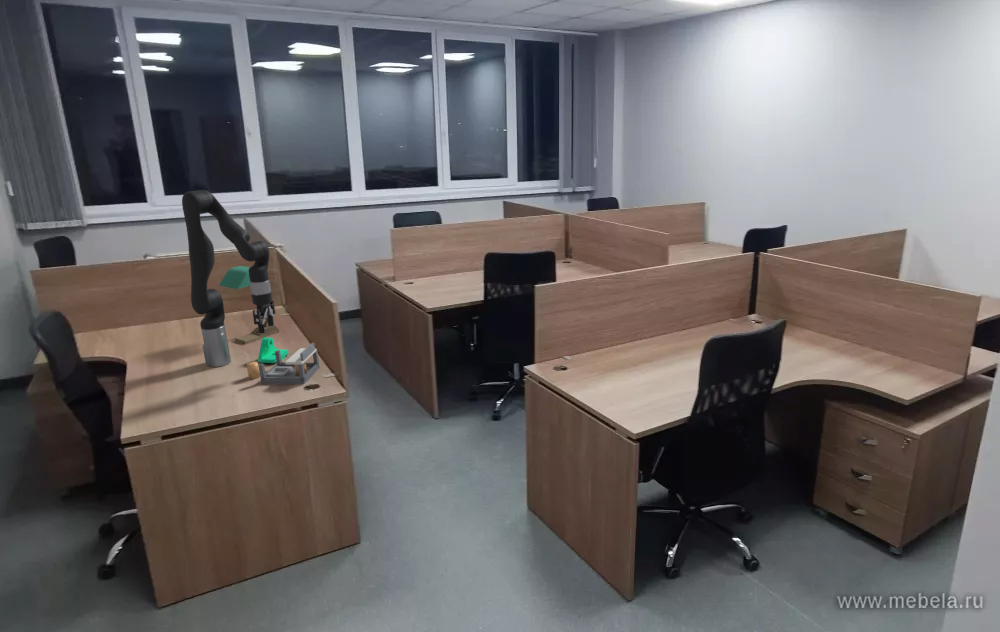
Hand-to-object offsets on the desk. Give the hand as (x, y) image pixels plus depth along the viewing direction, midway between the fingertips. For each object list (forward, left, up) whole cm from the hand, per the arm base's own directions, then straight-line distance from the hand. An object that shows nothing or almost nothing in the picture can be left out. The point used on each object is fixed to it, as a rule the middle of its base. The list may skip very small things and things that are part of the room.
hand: (266, 329), depth 239 cm
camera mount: (-6, +14, -20) cm, 25 cm away
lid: (+14, -3, -11) cm, 18 cm away
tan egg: (-6, -5, -19) cm, 21 cm away
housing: (+9, -3, -19) cm, 21 cm away
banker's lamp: (-29, +42, -20) cm, 55 cm away
